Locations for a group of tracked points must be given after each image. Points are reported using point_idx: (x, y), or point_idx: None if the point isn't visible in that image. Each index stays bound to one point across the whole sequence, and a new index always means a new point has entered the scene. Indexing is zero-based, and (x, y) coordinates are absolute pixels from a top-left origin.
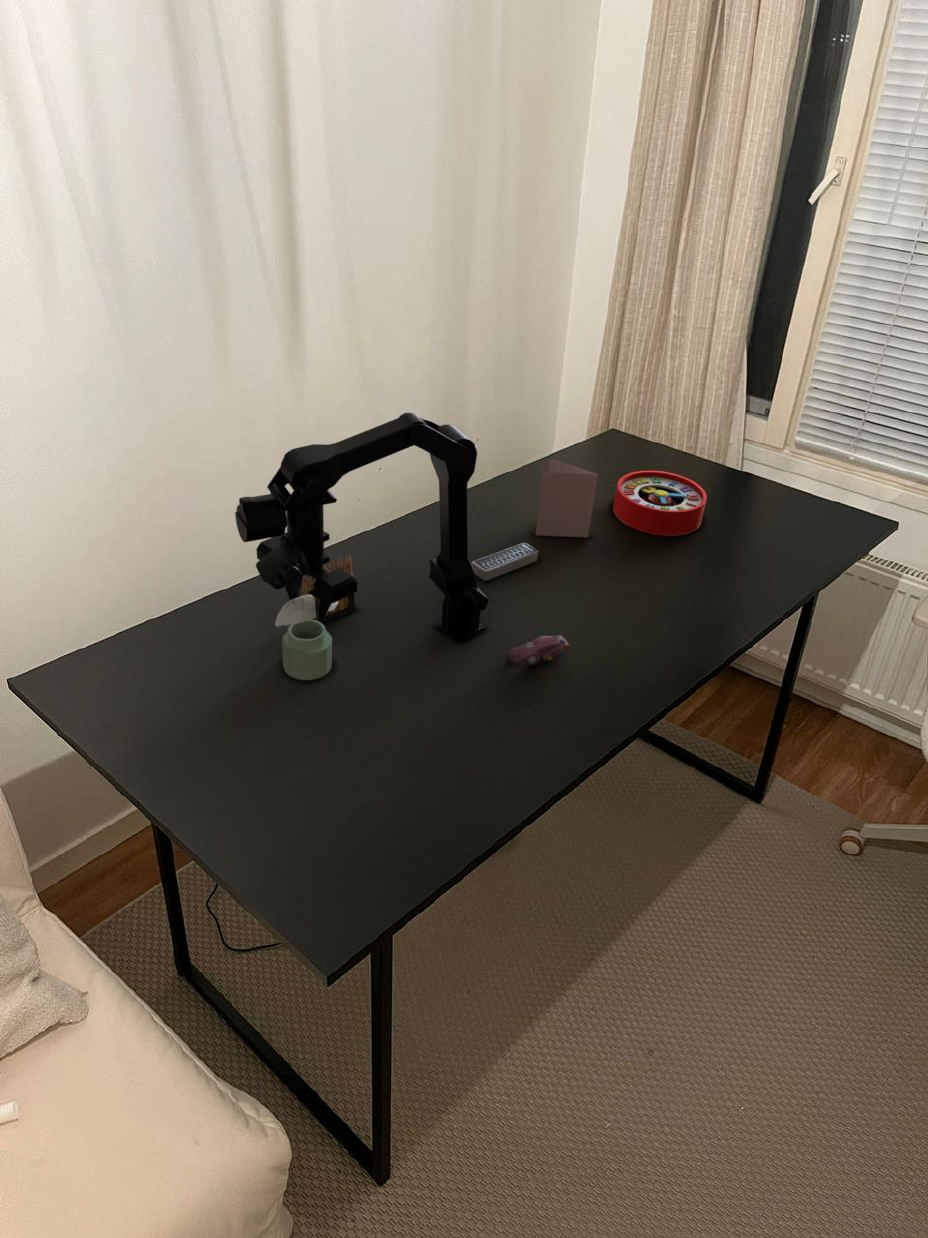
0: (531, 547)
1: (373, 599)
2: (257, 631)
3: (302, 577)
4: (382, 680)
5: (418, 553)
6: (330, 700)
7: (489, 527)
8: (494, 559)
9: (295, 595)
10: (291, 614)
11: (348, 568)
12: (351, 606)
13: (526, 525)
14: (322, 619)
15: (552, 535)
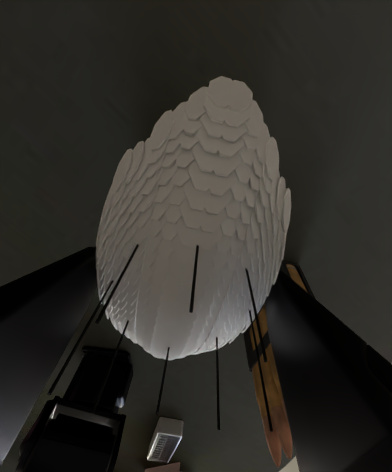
0: (156, 461)
1: (237, 353)
2: (369, 197)
3: (293, 440)
4: (71, 232)
5: (252, 421)
6: (73, 116)
7: (221, 458)
8: (167, 444)
9: (275, 311)
10: (172, 179)
11: (266, 419)
12: (246, 333)
13: (196, 466)
14: None
15: (168, 464)
